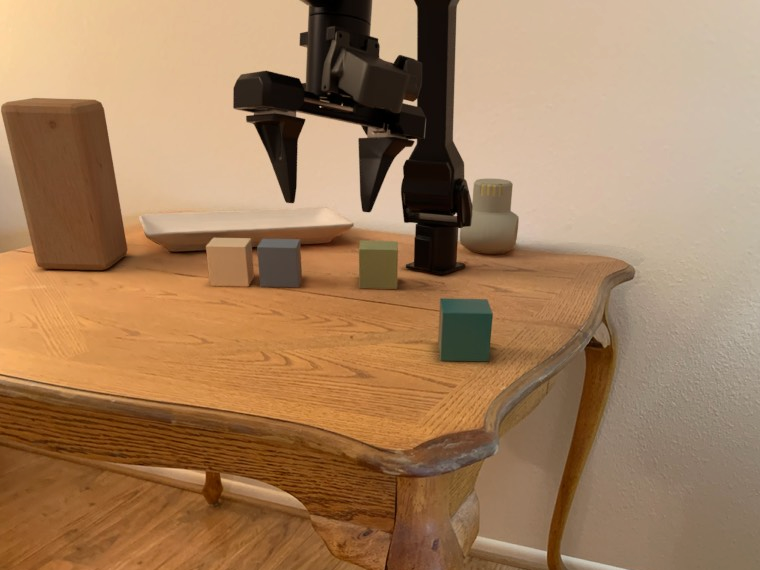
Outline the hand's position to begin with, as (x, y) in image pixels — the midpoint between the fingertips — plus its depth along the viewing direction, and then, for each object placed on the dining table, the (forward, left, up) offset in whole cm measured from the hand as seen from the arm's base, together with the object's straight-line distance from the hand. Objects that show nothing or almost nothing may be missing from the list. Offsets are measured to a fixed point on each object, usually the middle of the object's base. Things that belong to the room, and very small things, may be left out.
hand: (329, 207), depth 76 cm
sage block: (-21, -10, -13) cm, 27 cm away
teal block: (-5, +13, -13) cm, 20 cm away
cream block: (-10, -26, -13) cm, 31 cm away
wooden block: (-3, -49, -14) cm, 51 cm away
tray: (-28, -42, -14) cm, 52 cm away
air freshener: (-48, -9, -14) cm, 51 cm away
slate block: (-14, -21, -13) cm, 28 cm away
